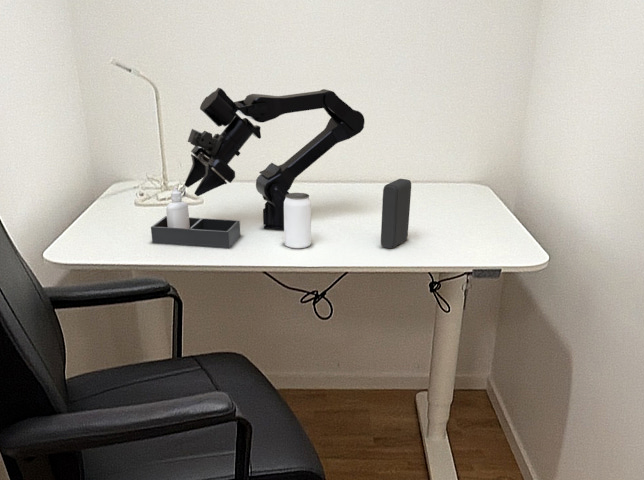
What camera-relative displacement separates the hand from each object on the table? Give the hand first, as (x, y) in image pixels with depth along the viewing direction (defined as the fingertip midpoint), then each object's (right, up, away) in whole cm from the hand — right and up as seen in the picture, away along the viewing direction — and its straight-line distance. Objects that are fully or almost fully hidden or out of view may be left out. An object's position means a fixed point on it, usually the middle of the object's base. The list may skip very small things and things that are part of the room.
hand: (190, 190), depth 180 cm
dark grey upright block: (+50, -12, +3) cm, 51 cm away
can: (+26, -13, +1) cm, 29 cm away
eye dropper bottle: (-3, -10, +4) cm, 12 cm away
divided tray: (+1, -11, +4) cm, 12 cm away
